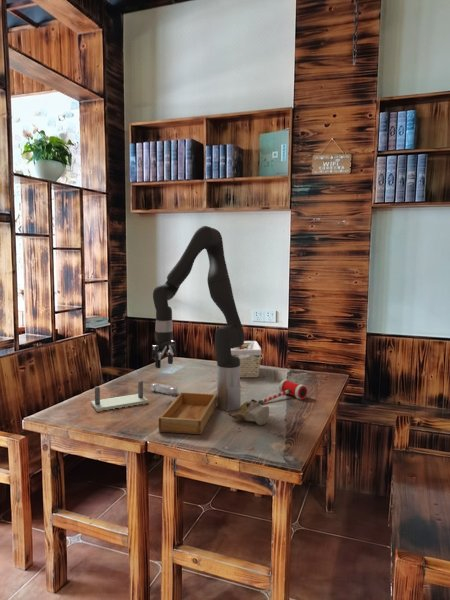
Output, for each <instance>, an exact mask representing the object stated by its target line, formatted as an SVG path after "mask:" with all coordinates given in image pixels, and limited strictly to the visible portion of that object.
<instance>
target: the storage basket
mask: <svg viewBox="0 0 450 600" xmlns="http://www.w3.org/2000/svg"><path fill="white" fill-rule="evenodd" d="M241 347H243V348H242V349H240V347H237V348H231V355H232V356H236V357H238V358H239V359H240V378H241V379H242V378H246V379H248V378H259V376H260V365H261V359H262V348H261V346H260V345H259V343H258V342H257V340H244V343H243V345H242V346H241Z"/></svg>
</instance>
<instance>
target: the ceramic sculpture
mask: <svg viewBox="0 0 450 600" xmlns="http://www.w3.org/2000/svg"><path fill="white" fill-rule="evenodd" d="M269 415H270V407H269V406H261V405H260V404H259V403H258V401H257V400H256V399H251V400H250V401H246V402H244V403H243V404H241V408H240V410H239V411H238V412H237V411H236V412H234V413H228V416H230V417H231V418H233V419H235V420H236V421H245V422H250V423H253V422H255V423H256V424H257V425H258V426H262V425H265V424H266V423H267V421H268V420H269Z"/></svg>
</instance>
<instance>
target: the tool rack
mask: <svg viewBox="0 0 450 600" xmlns="http://www.w3.org/2000/svg"><path fill="white" fill-rule="evenodd" d="M143 383H144V380H142V379H141V380H138V381H137V393H136V394H128V395H122V396H117V397H110V398H109V397H108V398H102V399H101V387H100V386H95V387H94V400H91V401H90V405H91V404H92V405H91V407H92V408H93V407H94V408H95V409H96V410H95V409H94V408H93V409H94V410H95V412H96V411H101V412H103V411H102V410H107V411H109V410H108V409H113V410H116V409H115V408H119V409H123V408H122V407H125V408H129V407H128V406H131V407H134V406H133V405H137V406H139V405H138V404H143V405H145V404H144V403H148V404H149V399H147V398H146V397H145V396H144V384H143Z"/></svg>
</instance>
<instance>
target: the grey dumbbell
mask: <svg viewBox="0 0 450 600" xmlns="http://www.w3.org/2000/svg"><path fill="white" fill-rule="evenodd" d="M150 390H152V391H157V392H156V393H158V392H161V393H160V394H163V393H166V394H165V395H168V394H169V395H168V396H170V395H175V396H178V395H179V389H178V387H177V386H176V385H175V386H173V385H167V384H162V383H159V382H153V383H151V384H150ZM152 391H151V392H152ZM177 394H178V395H177Z"/></svg>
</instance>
